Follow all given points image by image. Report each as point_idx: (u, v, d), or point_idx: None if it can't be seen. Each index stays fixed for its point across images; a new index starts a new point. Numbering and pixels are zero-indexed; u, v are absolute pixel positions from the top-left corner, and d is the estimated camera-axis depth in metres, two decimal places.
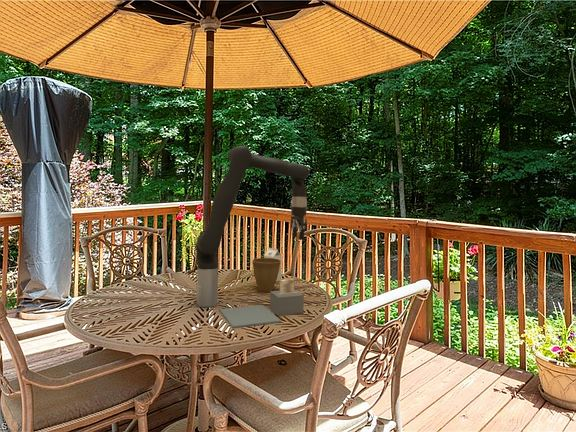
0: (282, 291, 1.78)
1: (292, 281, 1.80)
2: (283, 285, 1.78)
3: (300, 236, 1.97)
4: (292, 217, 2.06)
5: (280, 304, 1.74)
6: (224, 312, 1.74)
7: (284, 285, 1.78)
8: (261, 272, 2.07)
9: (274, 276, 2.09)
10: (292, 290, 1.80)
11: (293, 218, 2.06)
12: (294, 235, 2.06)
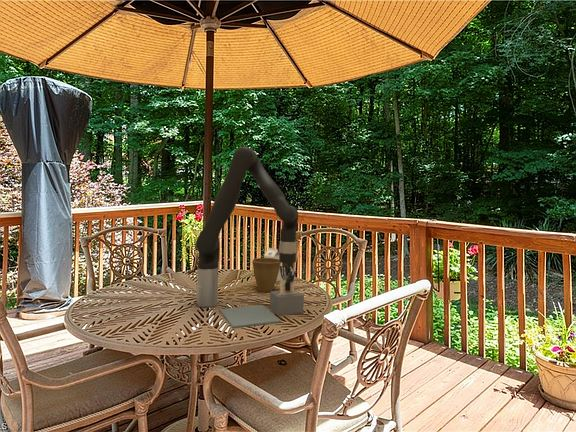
0: (282, 291, 1.78)
1: None
2: (283, 285, 1.78)
3: (286, 287, 1.78)
4: (281, 266, 1.84)
5: (280, 304, 1.74)
6: (224, 312, 1.74)
7: (284, 285, 1.78)
8: (261, 272, 2.07)
9: (274, 276, 2.09)
10: (292, 290, 1.80)
11: (282, 267, 1.83)
12: None
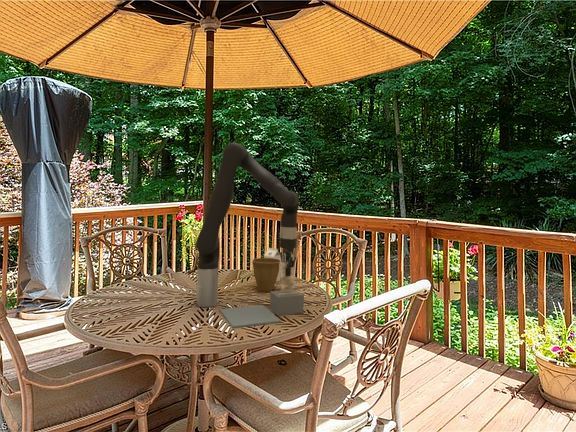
0: (282, 274, 1.77)
1: None
2: (282, 268, 1.77)
3: (286, 273, 1.78)
4: (281, 252, 1.83)
5: (280, 304, 1.74)
6: (224, 312, 1.74)
7: (283, 267, 1.77)
8: (261, 272, 2.07)
9: (274, 276, 2.09)
10: (292, 272, 1.79)
11: None
12: None
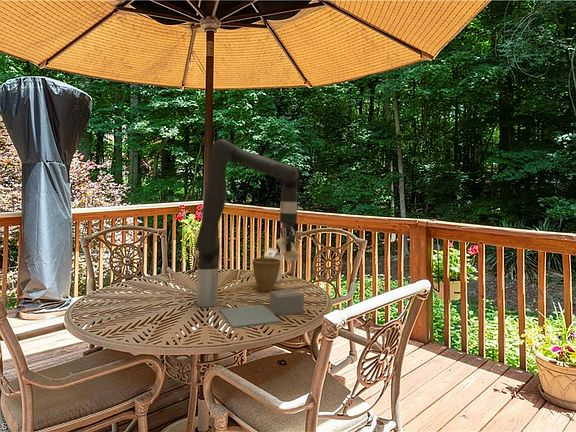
0: (283, 250, 1.77)
1: None
2: (281, 244, 1.76)
3: (286, 248, 1.77)
4: (281, 228, 1.82)
5: (280, 304, 1.74)
6: (224, 312, 1.74)
7: (282, 243, 1.76)
8: (261, 272, 2.07)
9: (274, 276, 2.09)
10: (292, 244, 1.78)
11: None
12: None
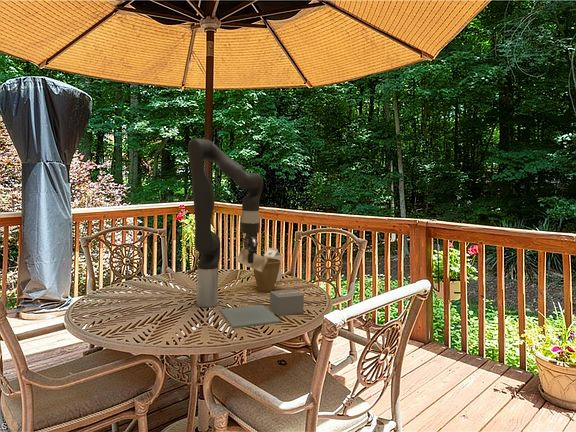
0: (247, 264, 1.69)
1: (243, 250, 1.68)
2: (242, 261, 1.68)
3: (248, 259, 1.68)
4: (244, 238, 1.74)
5: (280, 304, 1.74)
6: (224, 312, 1.74)
7: (243, 260, 1.68)
8: (261, 272, 2.07)
9: (274, 276, 2.09)
10: None
11: None
12: None
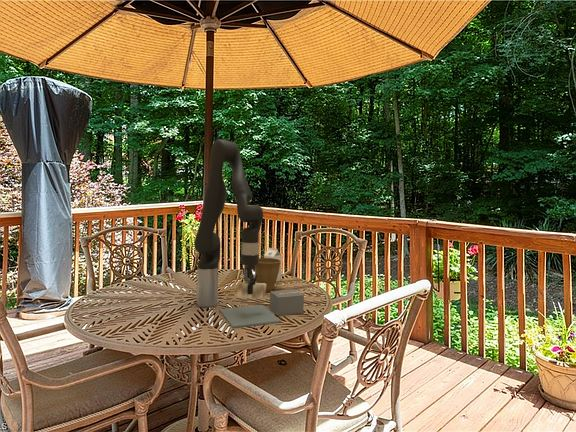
0: (248, 296, 1.70)
1: (240, 285, 1.68)
2: (242, 295, 1.69)
3: (248, 290, 1.69)
4: (244, 268, 1.75)
5: (280, 304, 1.74)
6: (224, 312, 1.74)
7: (243, 294, 1.69)
8: (261, 272, 2.07)
9: (274, 276, 2.09)
10: None
11: None
12: None
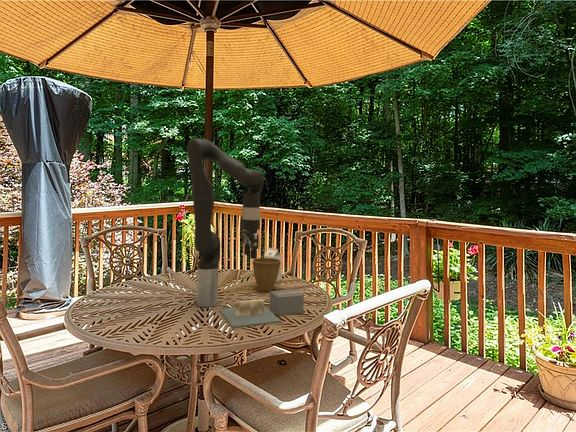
0: (247, 314, 1.71)
1: (237, 304, 1.69)
2: (241, 313, 1.70)
3: (251, 255, 1.65)
4: (244, 231, 1.73)
5: (280, 304, 1.74)
6: (224, 312, 1.74)
7: (241, 312, 1.70)
8: (261, 272, 2.07)
9: (274, 276, 2.09)
10: (247, 303, 1.70)
11: None
12: (246, 252, 1.73)
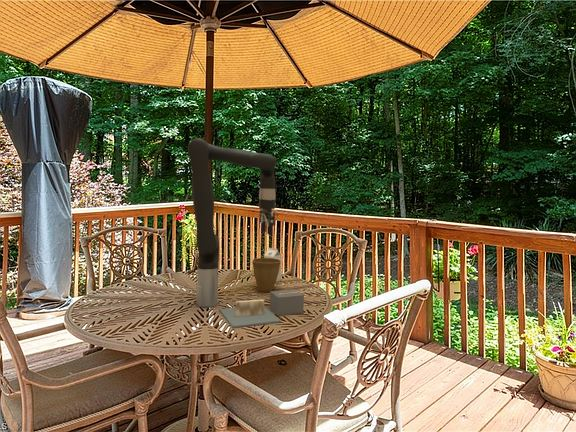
0: (247, 314, 1.71)
1: (237, 304, 1.69)
2: (241, 313, 1.70)
3: (268, 231, 1.84)
4: (261, 211, 1.93)
5: (280, 304, 1.74)
6: (224, 312, 1.74)
7: (241, 312, 1.70)
8: (261, 272, 2.07)
9: (274, 276, 2.09)
10: (247, 303, 1.70)
11: (262, 212, 1.93)
12: (263, 230, 1.92)
